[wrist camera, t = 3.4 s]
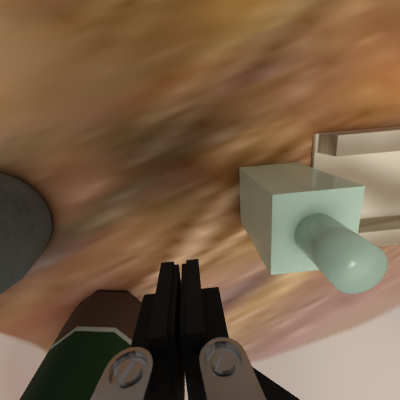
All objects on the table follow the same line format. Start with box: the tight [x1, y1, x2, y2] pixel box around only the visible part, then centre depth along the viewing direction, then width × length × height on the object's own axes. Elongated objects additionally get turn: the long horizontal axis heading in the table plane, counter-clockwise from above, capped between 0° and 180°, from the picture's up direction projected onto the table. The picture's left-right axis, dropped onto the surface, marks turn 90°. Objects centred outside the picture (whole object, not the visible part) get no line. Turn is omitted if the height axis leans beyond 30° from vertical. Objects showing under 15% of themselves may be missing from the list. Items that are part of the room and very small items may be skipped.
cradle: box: [311, 126, 400, 247], centre depth 19 cm, size 10×13×3 cm
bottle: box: [239, 162, 387, 294], centre depth 15 cm, size 5×5×12 cm
